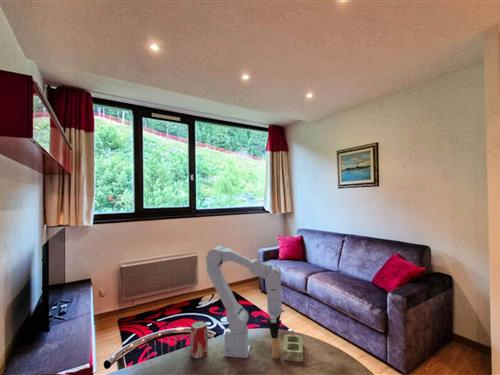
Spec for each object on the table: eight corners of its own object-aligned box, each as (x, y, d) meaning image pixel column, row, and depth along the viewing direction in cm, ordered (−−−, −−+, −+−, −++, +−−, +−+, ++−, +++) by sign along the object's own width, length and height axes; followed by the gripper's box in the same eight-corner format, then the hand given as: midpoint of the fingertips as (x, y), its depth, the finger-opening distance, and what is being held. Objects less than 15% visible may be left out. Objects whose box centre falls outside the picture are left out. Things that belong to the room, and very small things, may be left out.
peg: (271, 358, 98) (271, 337, 98) (272, 353, 101) (271, 333, 101) (279, 359, 98) (278, 338, 98) (279, 354, 101) (279, 334, 101)
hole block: (283, 360, 97) (283, 351, 97) (284, 342, 109) (284, 334, 109) (303, 362, 96) (303, 352, 96) (302, 344, 107) (301, 335, 108)
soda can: (204, 361, 97) (203, 329, 98) (187, 359, 99) (187, 328, 99) (210, 350, 104) (210, 320, 105) (194, 348, 106) (194, 319, 106)
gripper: (283, 306, 93) (284, 343, 92) (284, 291, 107) (285, 324, 106) (264, 305, 94) (265, 342, 93) (268, 291, 108) (269, 323, 107)
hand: (275, 332), depth 100 cm, fingers open, 7 cm apart
